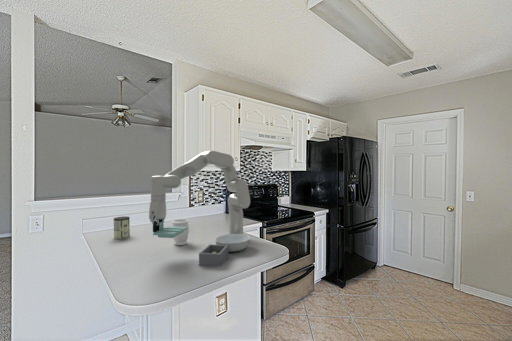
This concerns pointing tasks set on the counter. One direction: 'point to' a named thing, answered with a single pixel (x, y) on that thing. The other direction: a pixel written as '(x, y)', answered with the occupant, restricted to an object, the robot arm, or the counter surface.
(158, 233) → the lid
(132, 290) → the counter surface
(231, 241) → the serving bowl
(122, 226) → the coffee can
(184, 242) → the jar
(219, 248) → the tub
